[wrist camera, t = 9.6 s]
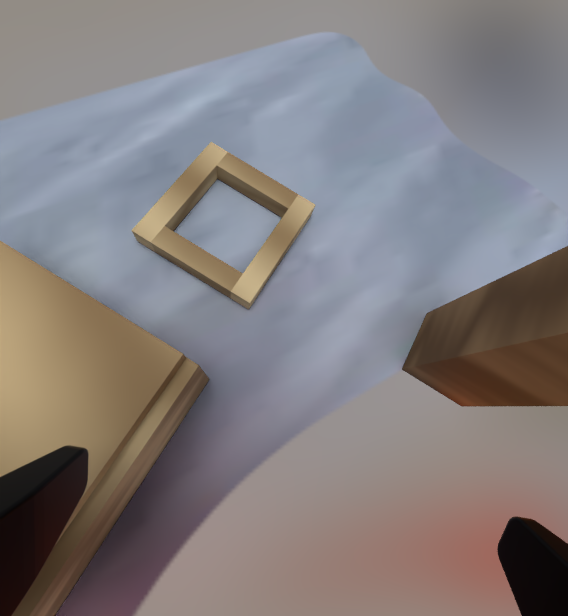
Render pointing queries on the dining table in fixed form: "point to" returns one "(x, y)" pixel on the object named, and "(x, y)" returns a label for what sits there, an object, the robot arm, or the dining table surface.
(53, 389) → the lid
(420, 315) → the dining table surface
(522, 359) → the brown block
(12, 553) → the robot arm
